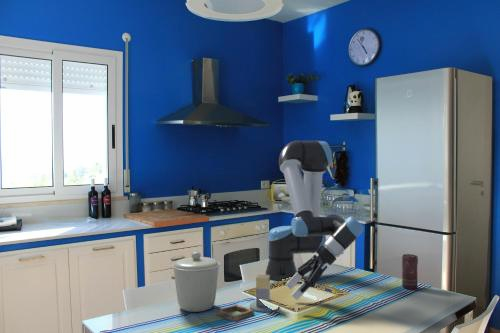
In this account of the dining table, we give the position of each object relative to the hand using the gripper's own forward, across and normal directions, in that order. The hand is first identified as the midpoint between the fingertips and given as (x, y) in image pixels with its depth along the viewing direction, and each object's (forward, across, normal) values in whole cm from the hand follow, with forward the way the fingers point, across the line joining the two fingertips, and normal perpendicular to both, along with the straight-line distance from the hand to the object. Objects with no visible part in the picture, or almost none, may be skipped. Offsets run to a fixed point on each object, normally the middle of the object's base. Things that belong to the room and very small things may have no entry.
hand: (290, 291), depth 166 cm
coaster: (+11, 0, +3) cm, 12 cm away
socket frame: (+19, -7, +11) cm, 23 cm away
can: (-34, +18, -42) cm, 58 cm away
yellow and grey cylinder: (+11, 0, +4) cm, 12 cm away
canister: (+29, +2, +21) cm, 36 cm away
